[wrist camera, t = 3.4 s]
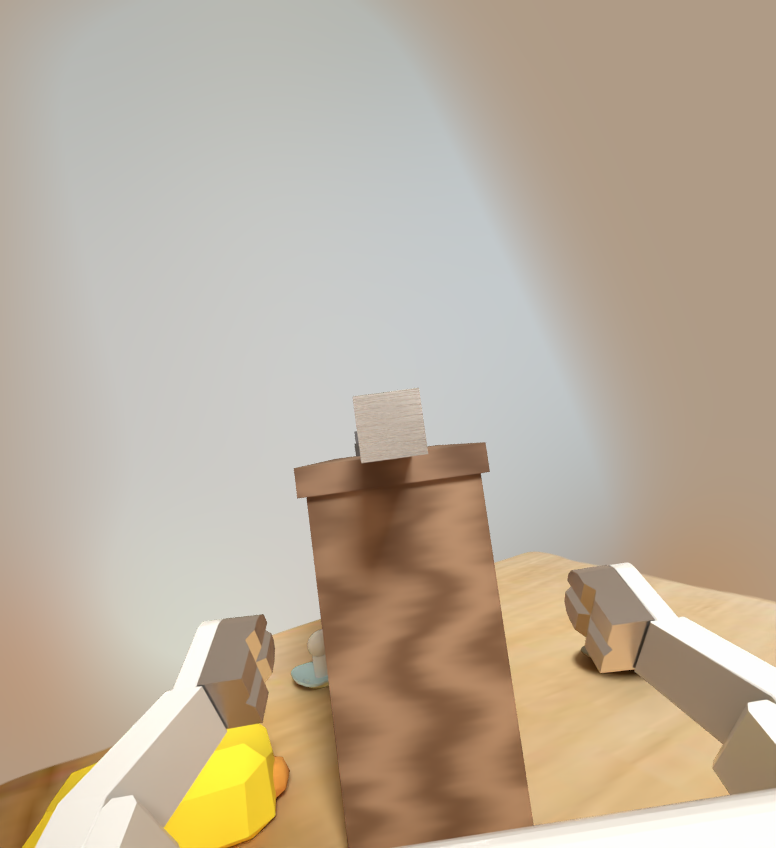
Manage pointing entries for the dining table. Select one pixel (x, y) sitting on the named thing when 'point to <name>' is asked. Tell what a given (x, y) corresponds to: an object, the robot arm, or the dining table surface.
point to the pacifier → (313, 664)
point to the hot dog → (216, 793)
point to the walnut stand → (415, 647)
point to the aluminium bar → (390, 425)
